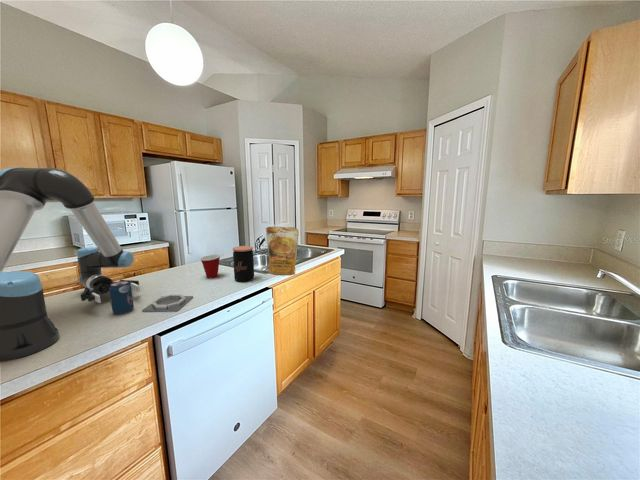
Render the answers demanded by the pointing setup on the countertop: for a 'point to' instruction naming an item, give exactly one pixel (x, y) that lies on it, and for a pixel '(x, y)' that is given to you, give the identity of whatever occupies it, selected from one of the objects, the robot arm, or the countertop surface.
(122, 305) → the soda can
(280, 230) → the pancake mix bag
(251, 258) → the coffee jar
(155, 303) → the mount plate
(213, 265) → the plastic cup
